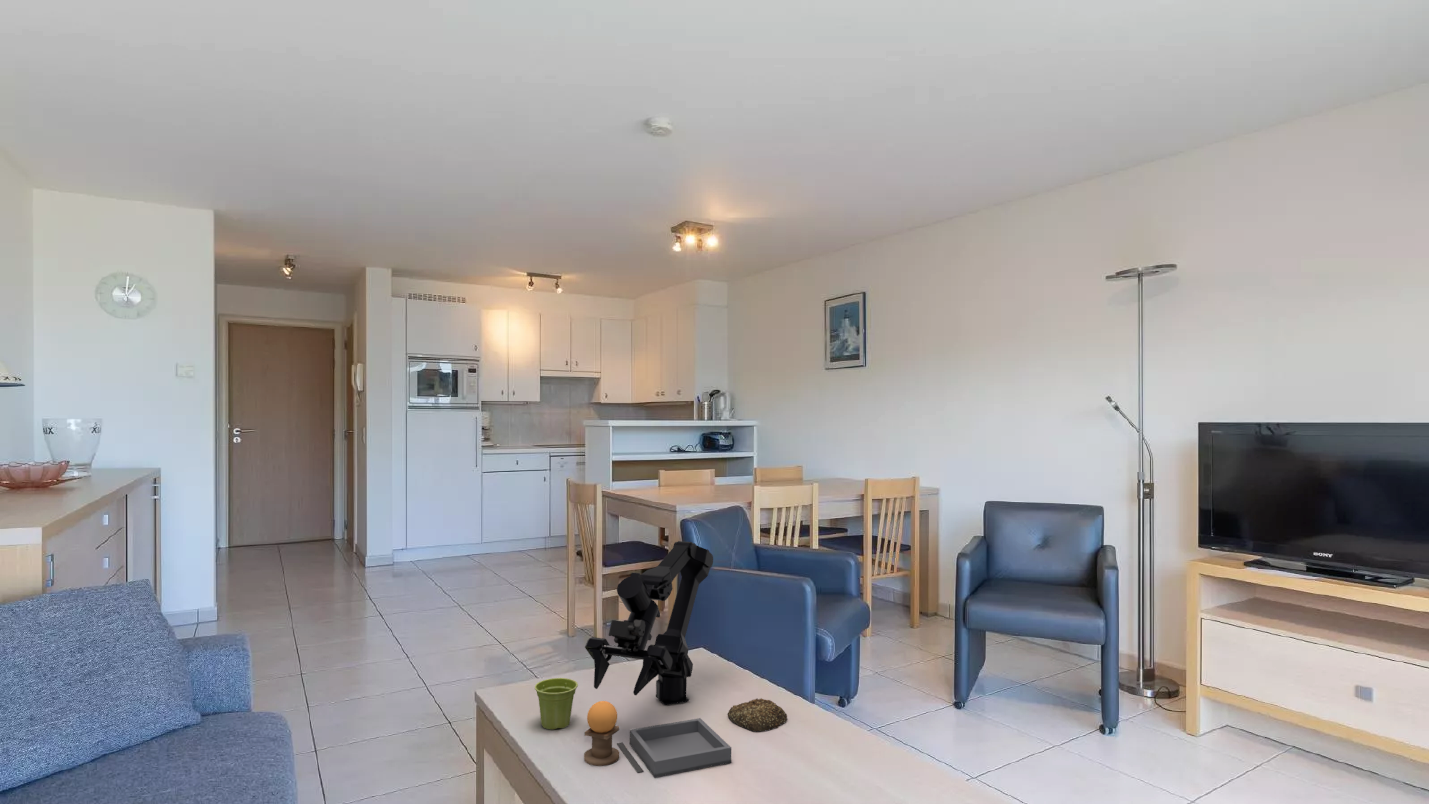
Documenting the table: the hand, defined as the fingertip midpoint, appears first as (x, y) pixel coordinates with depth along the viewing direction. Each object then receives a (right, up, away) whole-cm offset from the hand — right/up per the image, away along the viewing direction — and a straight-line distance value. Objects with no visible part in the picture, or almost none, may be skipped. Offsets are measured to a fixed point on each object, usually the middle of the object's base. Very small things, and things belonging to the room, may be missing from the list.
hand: (614, 691), depth 156 cm
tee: (-2, -11, -5) cm, 13 cm away
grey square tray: (+13, -12, -3) cm, 18 cm away
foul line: (+4, -12, -5) cm, 13 cm away
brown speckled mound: (+31, -13, +15) cm, 36 cm away
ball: (-2, -6, -5) cm, 8 cm away
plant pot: (-15, -12, +11) cm, 22 cm away
